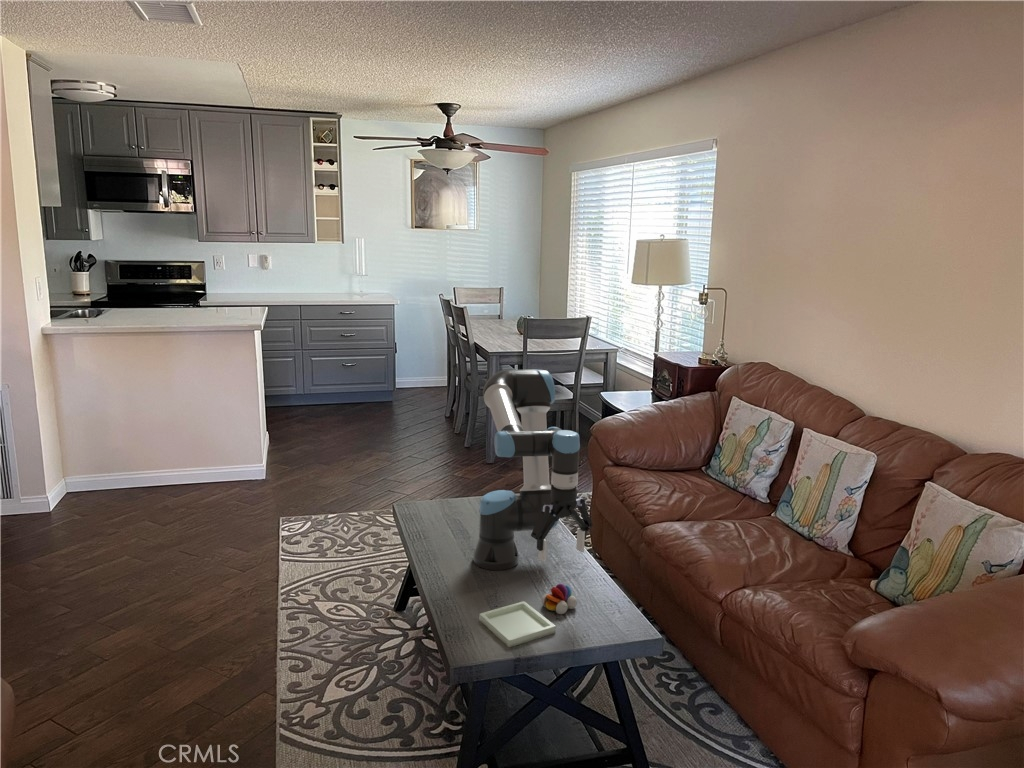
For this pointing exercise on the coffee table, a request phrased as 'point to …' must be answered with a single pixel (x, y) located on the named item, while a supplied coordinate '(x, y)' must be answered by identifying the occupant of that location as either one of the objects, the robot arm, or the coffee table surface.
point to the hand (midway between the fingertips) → (561, 555)
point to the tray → (517, 623)
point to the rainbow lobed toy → (559, 599)
